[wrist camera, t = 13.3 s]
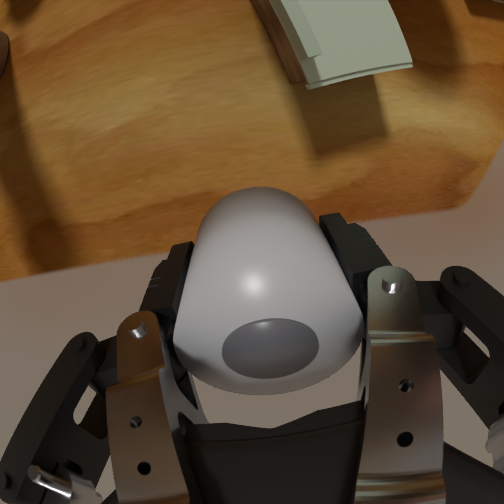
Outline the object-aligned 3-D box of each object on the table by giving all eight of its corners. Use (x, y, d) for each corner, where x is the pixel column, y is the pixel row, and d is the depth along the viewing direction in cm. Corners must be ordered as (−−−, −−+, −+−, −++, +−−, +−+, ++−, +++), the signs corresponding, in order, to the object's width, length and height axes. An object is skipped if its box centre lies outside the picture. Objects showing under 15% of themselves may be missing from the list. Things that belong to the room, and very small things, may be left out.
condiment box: (243, -14, 17) (243, -42, 11) (325, -30, 15) (347, -56, 9) (290, 83, 23) (306, 80, 17) (369, 63, 21) (404, 59, 15)
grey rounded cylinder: (180, 203, 10) (138, 299, 5) (313, 175, 9) (372, 255, 5) (216, 301, 12) (209, 404, 8) (323, 281, 12) (357, 380, 8)
